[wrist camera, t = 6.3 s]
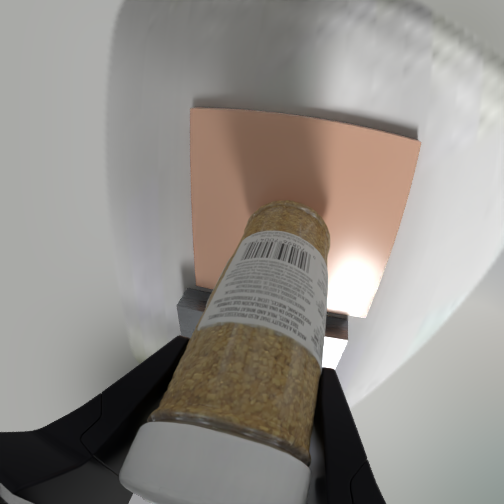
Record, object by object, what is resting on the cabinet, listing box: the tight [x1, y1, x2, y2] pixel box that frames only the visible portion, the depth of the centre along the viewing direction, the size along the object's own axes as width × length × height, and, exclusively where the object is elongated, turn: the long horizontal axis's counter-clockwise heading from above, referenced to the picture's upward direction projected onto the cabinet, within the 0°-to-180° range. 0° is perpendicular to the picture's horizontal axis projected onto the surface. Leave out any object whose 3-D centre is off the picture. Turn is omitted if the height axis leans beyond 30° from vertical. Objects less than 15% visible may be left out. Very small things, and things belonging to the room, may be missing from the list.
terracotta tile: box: [190, 107, 421, 318], centre depth 17 cm, size 12×12×1 cm
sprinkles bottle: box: [119, 200, 330, 504], centre depth 10 cm, size 5×5×14 cm
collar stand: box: [177, 288, 348, 370], centre depth 24 cm, size 12×12×2 cm
